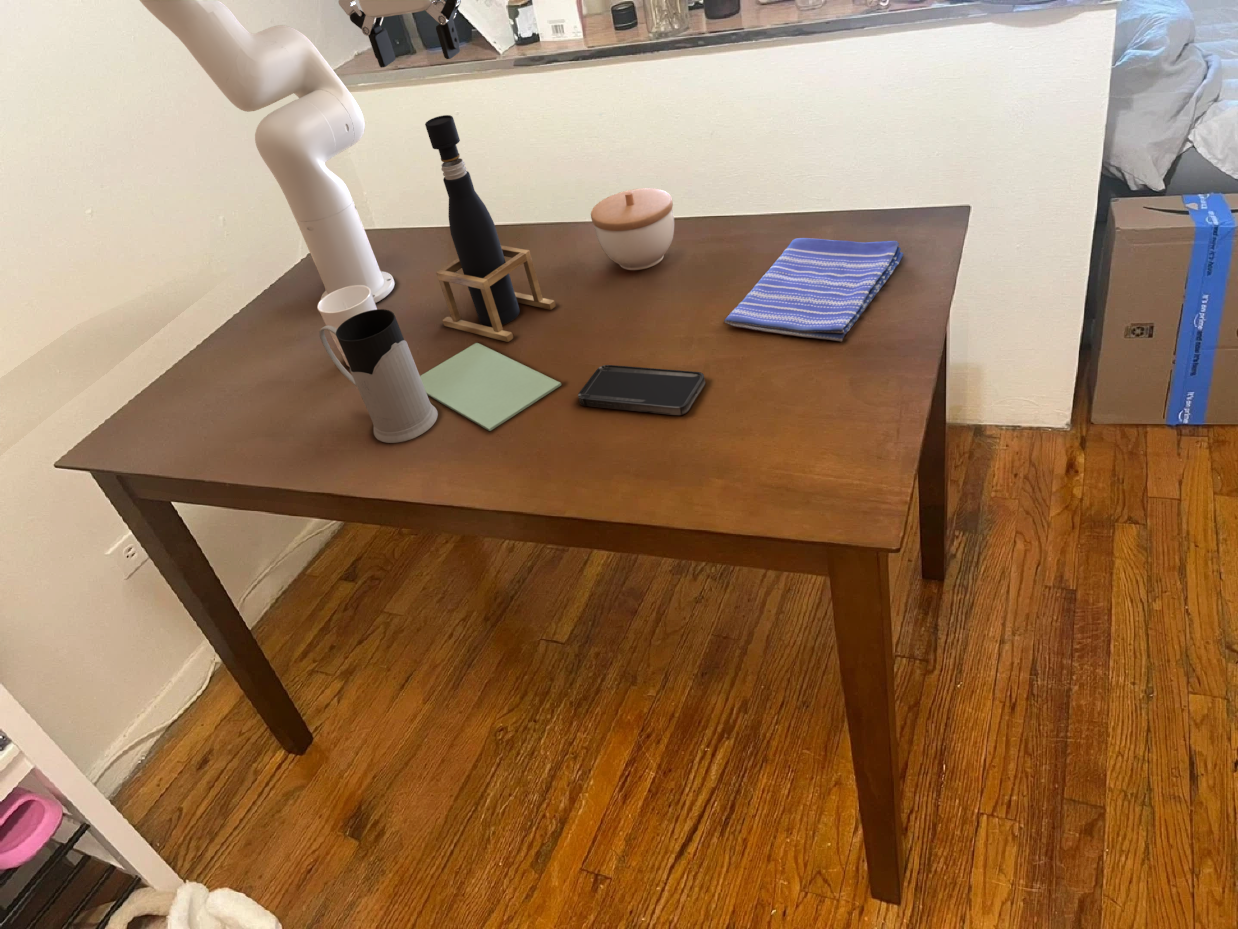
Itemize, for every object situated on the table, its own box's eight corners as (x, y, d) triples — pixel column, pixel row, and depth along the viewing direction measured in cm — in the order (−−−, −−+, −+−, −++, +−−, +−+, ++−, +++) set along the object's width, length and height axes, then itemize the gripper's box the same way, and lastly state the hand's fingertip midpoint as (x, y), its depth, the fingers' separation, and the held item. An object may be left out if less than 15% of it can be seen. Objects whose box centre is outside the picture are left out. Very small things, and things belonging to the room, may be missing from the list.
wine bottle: (513, 325, 141) (453, 125, 123) (473, 328, 143) (408, 131, 125) (524, 303, 146) (468, 108, 128) (486, 306, 148) (425, 114, 130)
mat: (409, 384, 133) (408, 382, 133) (477, 344, 139) (476, 342, 138) (489, 431, 120) (489, 428, 120) (561, 385, 125) (560, 382, 125)
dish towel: (906, 256, 134) (906, 237, 132) (845, 344, 119) (844, 325, 118) (793, 247, 143) (791, 230, 141) (723, 329, 128) (720, 310, 127)
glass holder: (408, 448, 121) (365, 347, 112) (332, 429, 128) (287, 333, 119) (450, 409, 126) (414, 310, 117) (375, 392, 133) (335, 299, 124)
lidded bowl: (682, 270, 144) (671, 201, 138) (601, 284, 146) (586, 217, 139) (679, 235, 154) (668, 169, 148) (603, 248, 156) (589, 184, 149)
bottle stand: (444, 325, 146) (424, 271, 140) (491, 292, 151) (475, 239, 146) (508, 342, 137) (490, 285, 132) (556, 306, 143) (541, 250, 138)
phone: (600, 364, 125) (706, 372, 118) (602, 371, 126) (708, 379, 119) (574, 398, 120) (683, 409, 113) (576, 405, 120) (685, 416, 114)
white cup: (404, 344, 143) (381, 285, 137) (373, 373, 138) (348, 313, 132) (363, 341, 147) (339, 284, 141) (332, 369, 141) (306, 311, 135)
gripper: (450, -111, 111) (491, 42, 121) (329, -86, 117) (377, 57, 127) (421, -97, 105) (466, 62, 116) (295, -72, 112) (349, 76, 122)
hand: (420, 59), depth 122 cm, fingers open, 9 cm apart
